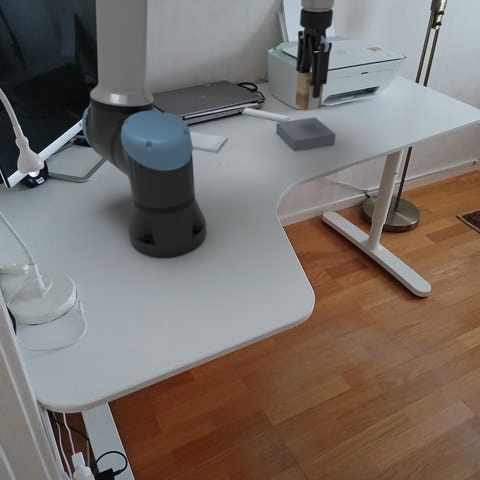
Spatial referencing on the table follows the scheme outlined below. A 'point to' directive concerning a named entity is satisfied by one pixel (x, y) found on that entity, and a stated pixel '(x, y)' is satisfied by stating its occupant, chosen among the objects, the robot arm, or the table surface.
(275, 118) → the marker
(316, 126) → the grey base
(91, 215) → the table surface
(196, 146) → the hard drive
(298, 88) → the oak block
